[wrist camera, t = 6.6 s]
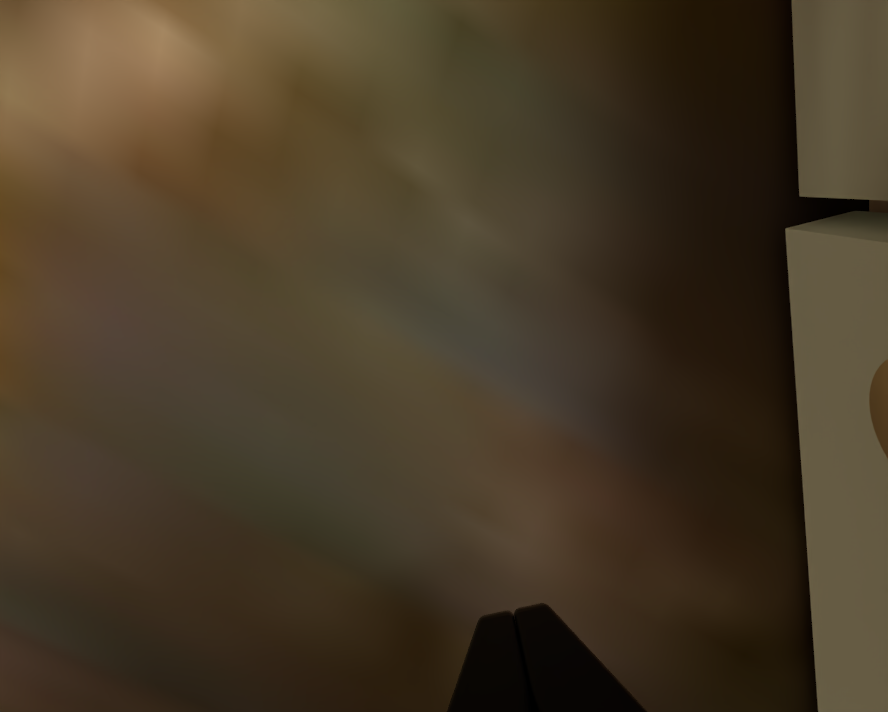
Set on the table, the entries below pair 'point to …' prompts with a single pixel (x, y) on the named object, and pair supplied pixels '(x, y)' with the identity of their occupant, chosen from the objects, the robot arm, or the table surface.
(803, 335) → the cabinet door
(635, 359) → the table surface
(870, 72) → the cabinet
